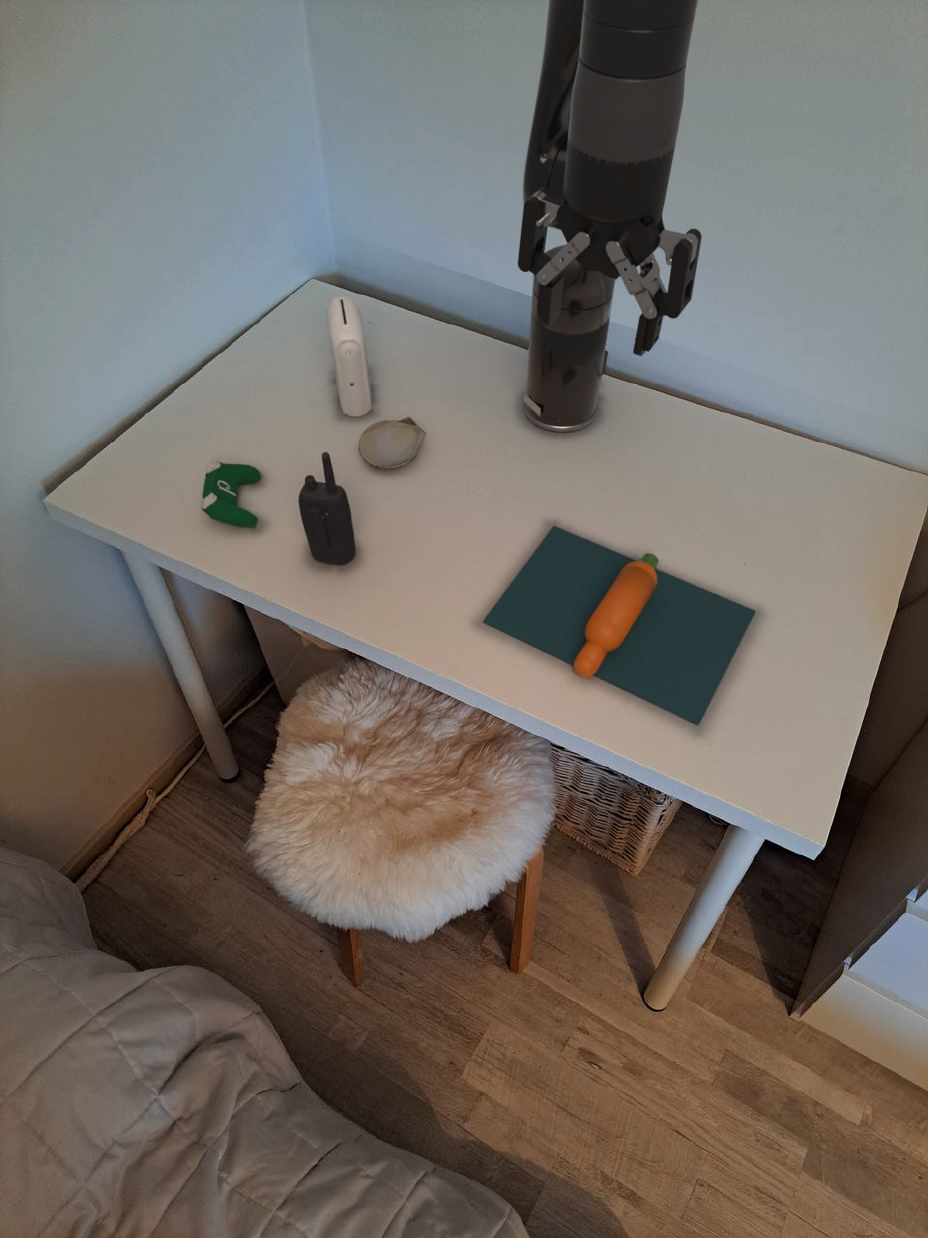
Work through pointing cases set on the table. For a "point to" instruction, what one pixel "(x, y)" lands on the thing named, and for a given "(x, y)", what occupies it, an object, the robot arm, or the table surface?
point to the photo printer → (349, 356)
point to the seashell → (391, 443)
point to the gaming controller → (228, 493)
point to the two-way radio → (327, 518)
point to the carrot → (617, 613)
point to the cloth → (658, 640)
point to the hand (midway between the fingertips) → (595, 335)
